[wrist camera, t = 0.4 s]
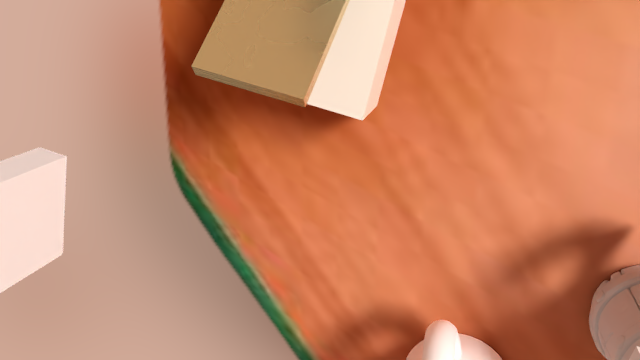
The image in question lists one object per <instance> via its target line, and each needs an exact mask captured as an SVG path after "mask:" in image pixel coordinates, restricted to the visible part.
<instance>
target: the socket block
mask: <svg viewBox="0 0 640 360" xmlns="http://www.w3.org/2000/svg"><path fill="white" fill-rule="evenodd" d="M405 2H406V0H350V1H349V4H348V6H347V9H346V11H345V13H344V16H343V18H342V21H341V23H340V25H339V28H338V30H337V33H336V35H335V37H334V40H333V42H332V45H331V47H330V49H329V52H328V54H327V57H326V59H325V61H324V64H323V66H322V69H321V71H320V73H319V76H318V78H317V81H316V83H315V85H314V88H313V90H312V93H311V95H310V97H309V100H308V102H307V104H309V105H312V106H316V107H319V108H322V109H326V110H329V111H332V112H336V113H339V114H342V115H346V116H349V117H353V118H356V119H359V120H363V119H364V118H365V117H366V116H367V115H368V114H369V113H370V112H371V111H372V110H373V109H374V108H375V107H376V106H377V103H378V100H379V96H380V93H381V89H382V85H383V82H384V78H385V74H386V71H387V67H388V63H389V60H390V56H391V53H392V49H393V45H394V42H395V38H396V34H397V31H398V27H399V23H400V20H401V16H402V12H403V9H404V5H405Z"/></svg>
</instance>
